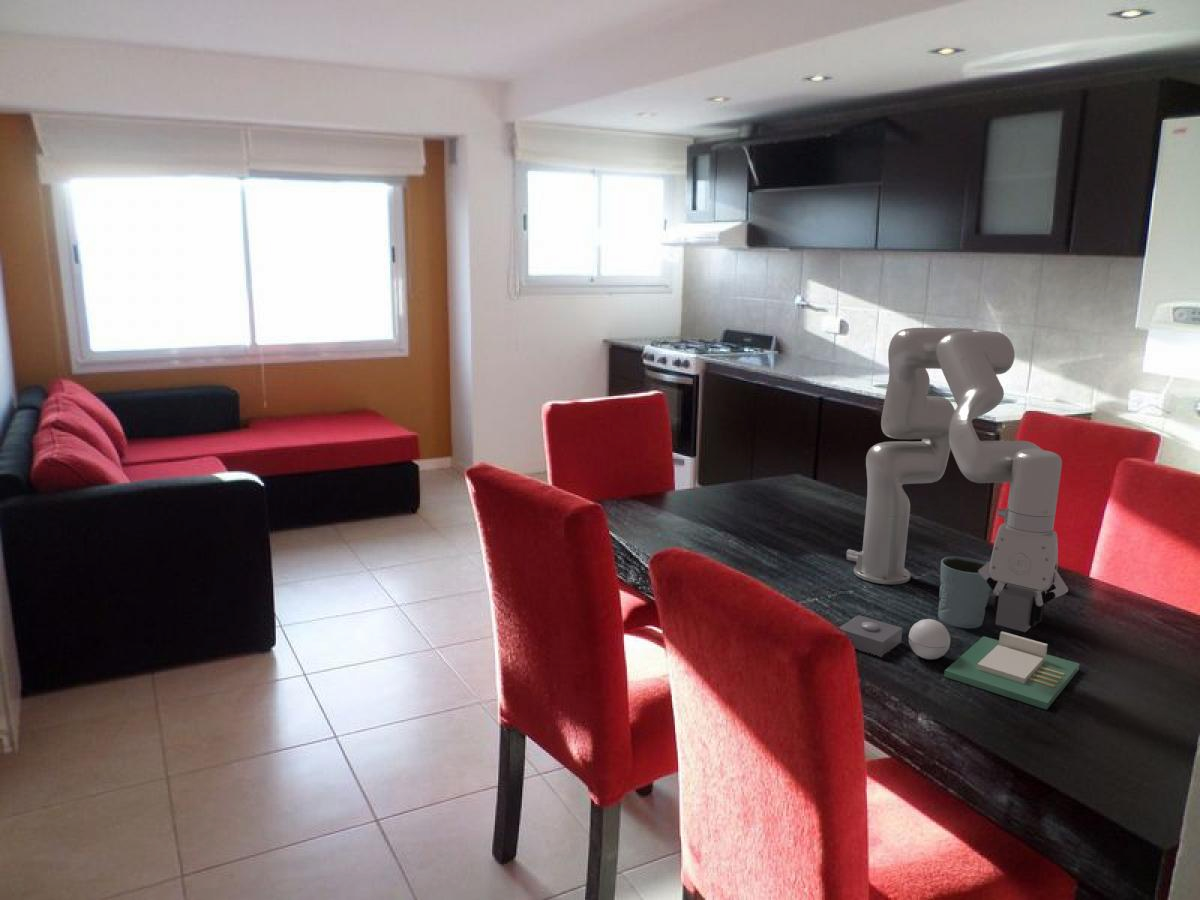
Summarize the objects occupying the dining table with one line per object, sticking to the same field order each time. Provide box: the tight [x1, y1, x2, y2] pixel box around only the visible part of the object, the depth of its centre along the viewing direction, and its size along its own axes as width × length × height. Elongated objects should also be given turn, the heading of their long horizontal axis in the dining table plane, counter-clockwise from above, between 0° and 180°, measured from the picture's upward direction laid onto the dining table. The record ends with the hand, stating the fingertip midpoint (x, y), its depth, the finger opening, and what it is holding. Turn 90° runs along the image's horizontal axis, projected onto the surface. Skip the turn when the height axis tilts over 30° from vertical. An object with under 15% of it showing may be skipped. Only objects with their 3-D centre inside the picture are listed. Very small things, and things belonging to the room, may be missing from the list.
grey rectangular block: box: [995, 584, 1035, 633], centre depth 159 cm, size 5×8×6 cm, turn 139°
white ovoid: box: [907, 618, 951, 660], centre depth 165 cm, size 10×7×7 cm
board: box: [943, 631, 1080, 710], centre depth 161 cm, size 17×20×4 cm
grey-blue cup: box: [937, 556, 992, 629], centre depth 183 cm, size 10×10×12 cm
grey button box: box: [838, 614, 903, 658], centre depth 172 cm, size 9×9×4 cm
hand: (1017, 618), depth 159 cm, fingers closed on grey rectangular block, 5 cm apart
